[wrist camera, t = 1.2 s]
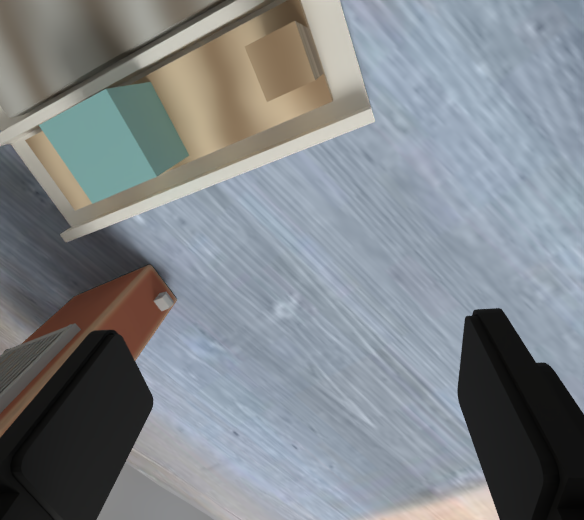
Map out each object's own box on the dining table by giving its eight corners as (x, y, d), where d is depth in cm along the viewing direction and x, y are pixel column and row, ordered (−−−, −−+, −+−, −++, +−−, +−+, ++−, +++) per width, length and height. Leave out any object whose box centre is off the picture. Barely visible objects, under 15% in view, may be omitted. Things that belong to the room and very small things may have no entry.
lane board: (269, -242, 21) (258, -282, 19) (373, 115, 30) (375, 121, 27) (-69, 17, 31) (-107, 14, 28) (84, 230, 40) (65, 242, 37)
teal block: (150, 81, 28) (105, 88, 23) (189, 155, 31) (156, 176, 25) (92, 112, 30) (38, 125, 25) (133, 179, 32) (92, 203, 27)
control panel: (190, 301, 42) (99, 334, 47) (155, 252, 40) (62, 293, 45) (69, 492, 24) (-60, 514, 29) (-13, 426, 21) (-139, 463, 26)
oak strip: (300, -2, 25) (279, -24, 18) (333, 99, 28) (327, 116, 21) (38, 136, 33) (-51, 161, 26) (85, 204, 36) (17, 244, 29)
